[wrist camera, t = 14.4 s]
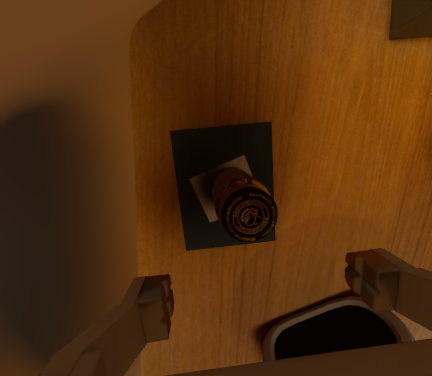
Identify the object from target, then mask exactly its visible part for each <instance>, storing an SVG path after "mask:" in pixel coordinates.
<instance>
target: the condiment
mask: <svg viewBox="0 0 432 376" xmlns="http://www.w3.org/2000/svg"><path fill="white" fill-rule="evenodd" d="M190 181H191V184H192V185H193V188H194V190H195V192H196V194H197V196H198V198H199V200H200V202H201V204H202V206H203V209H204V211H205V213H206V215H207V217H208V219H209V221H210V222H213V221H215V220H217V219H218V220H219V221H220V223H221V224H222V225H223V227H224V229H225V231H226V232H227V233H228V234H229V235H230V236H231V237H232V238H234V239H236V240H238V241H240V242H255V241H258V240H261V239H262V238H265V237H266V236H267V235H268V234H269V233H270V232H271V231H272V230H273V229H274V227H275V225H276V222H277V216H278V215H277V206H276V203H275V201H274V199H273V198H272V197H271V195H270V193H269V192H268V190H267V188H266V187H265V186H264V185H263V184H262V183H261V182H259V181H258V180H257V179H255V178H254V177H253V176H252V174H251V171H250V168H249V166H248V163H247V161H246V158H245V156H244V155H243V156H241V157H238V158H236V159H234V160H231V161H229V162H227V163H225V164H222V165H220V166H218V167H216V168H213V169H211V170H209V171H207V172H204V173H202V174H200V175H198V176H195V177H193V178H191V179H190Z"/></svg>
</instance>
